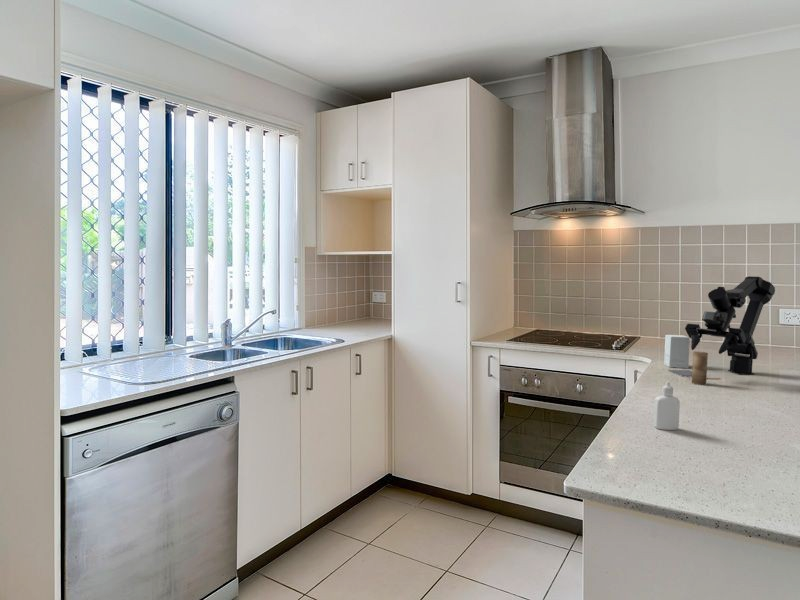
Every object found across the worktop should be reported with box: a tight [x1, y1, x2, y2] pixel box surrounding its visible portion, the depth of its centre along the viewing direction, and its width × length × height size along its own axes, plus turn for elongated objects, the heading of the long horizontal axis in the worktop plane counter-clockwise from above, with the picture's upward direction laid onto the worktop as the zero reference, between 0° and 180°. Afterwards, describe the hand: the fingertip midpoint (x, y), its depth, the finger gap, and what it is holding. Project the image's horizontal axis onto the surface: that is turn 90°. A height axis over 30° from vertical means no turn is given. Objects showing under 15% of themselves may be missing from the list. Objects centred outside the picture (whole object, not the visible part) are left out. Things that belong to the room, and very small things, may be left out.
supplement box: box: [663, 334, 691, 369], centre depth 214 cm, size 7×7×13 cm
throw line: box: [685, 377, 721, 380], centre depth 191 cm, size 12×1×1 cm, turn 90°
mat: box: [668, 369, 692, 377], centre depth 199 cm, size 8×10×1 cm
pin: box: [691, 351, 709, 386], centre depth 183 cm, size 4×4×11 cm
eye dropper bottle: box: [653, 380, 680, 431], centre depth 132 cm, size 4×6×12 cm
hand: (705, 351), depth 185 cm, fingers open, 9 cm apart
